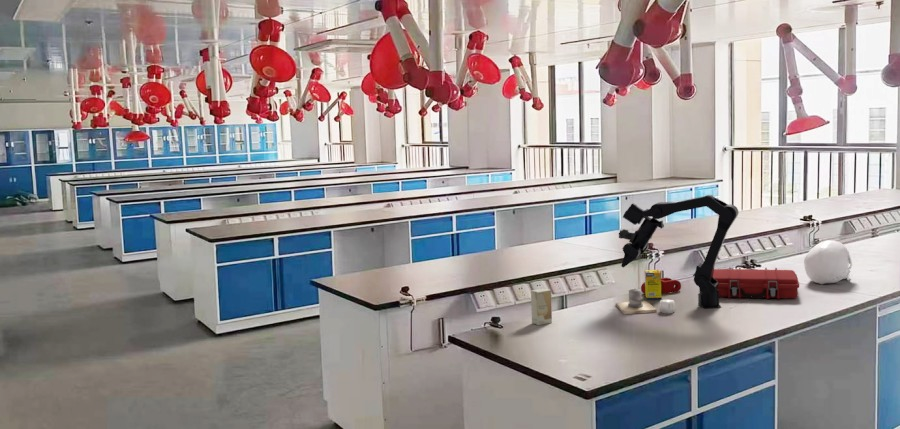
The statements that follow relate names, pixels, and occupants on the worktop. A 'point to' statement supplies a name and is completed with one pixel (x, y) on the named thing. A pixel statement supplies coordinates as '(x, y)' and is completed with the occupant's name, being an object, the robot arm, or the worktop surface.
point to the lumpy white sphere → (828, 262)
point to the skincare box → (541, 306)
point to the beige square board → (635, 304)
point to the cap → (667, 306)
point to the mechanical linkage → (666, 285)
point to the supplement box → (652, 284)
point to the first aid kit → (756, 283)
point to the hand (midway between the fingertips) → (625, 264)
